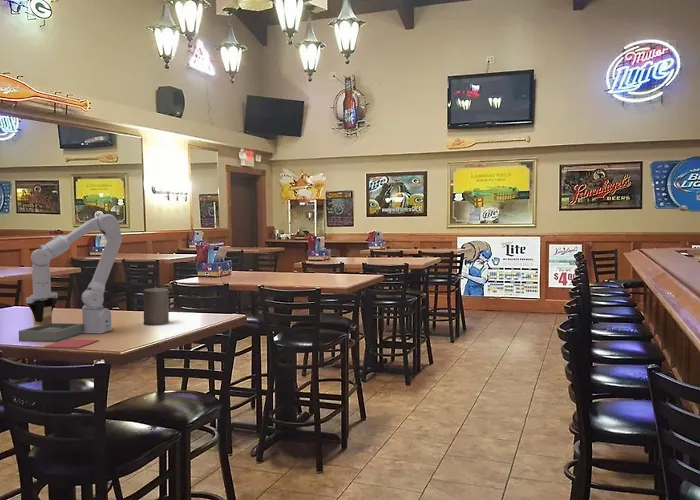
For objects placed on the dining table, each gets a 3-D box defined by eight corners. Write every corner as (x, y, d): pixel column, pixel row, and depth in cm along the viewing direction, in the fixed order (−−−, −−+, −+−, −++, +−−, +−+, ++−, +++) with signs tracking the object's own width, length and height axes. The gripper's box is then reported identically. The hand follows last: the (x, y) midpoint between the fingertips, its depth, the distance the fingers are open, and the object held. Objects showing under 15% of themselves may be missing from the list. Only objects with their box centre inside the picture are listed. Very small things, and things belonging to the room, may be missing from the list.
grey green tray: (83, 333, 220) (83, 323, 220) (56, 341, 204) (55, 331, 204) (48, 332, 222) (48, 323, 222) (18, 340, 206) (18, 330, 206)
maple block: (51, 323, 215) (51, 306, 215) (44, 325, 211) (44, 308, 211) (41, 322, 216) (41, 306, 215) (34, 324, 212) (33, 308, 211)
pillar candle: (138, 324, 238) (137, 286, 237) (156, 320, 247) (156, 284, 246) (156, 326, 233) (155, 288, 233) (174, 322, 242) (173, 285, 241)
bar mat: (99, 341, 205) (99, 339, 205) (78, 348, 193) (78, 347, 193) (66, 340, 207) (66, 339, 207) (44, 347, 195) (44, 346, 195)
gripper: (44, 280, 220) (46, 317, 221) (17, 284, 206) (18, 324, 207) (62, 280, 219) (63, 317, 220) (35, 285, 205) (37, 324, 206)
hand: (43, 320), depth 213 cm, fingers closed on maple block, 4 cm apart
